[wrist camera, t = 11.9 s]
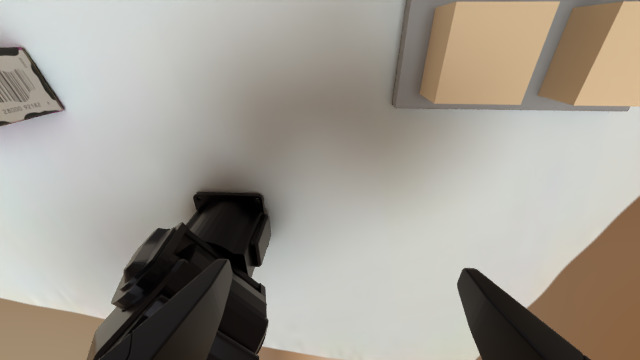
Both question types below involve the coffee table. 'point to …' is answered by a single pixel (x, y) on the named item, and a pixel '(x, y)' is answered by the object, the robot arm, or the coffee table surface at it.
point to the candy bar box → (23, 88)
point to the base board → (519, 55)
